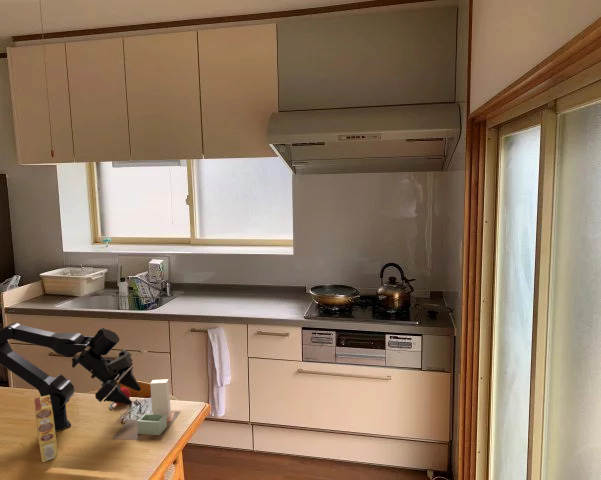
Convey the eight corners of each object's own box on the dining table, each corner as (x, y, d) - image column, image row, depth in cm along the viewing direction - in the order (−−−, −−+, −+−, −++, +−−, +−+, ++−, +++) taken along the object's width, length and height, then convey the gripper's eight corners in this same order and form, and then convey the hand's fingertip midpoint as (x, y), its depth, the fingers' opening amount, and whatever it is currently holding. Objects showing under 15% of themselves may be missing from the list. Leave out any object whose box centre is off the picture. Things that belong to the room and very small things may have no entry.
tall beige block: (153, 419, 142) (150, 383, 140) (155, 415, 144) (152, 379, 143) (169, 418, 142) (166, 382, 141) (170, 414, 145) (168, 379, 143)
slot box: (137, 433, 134) (136, 421, 134) (145, 425, 139) (144, 413, 138) (159, 435, 133) (158, 422, 133) (166, 426, 138) (166, 414, 137)
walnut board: (111, 442, 132) (111, 438, 132) (136, 413, 148) (136, 410, 148) (161, 443, 131) (160, 439, 131) (180, 414, 147) (180, 411, 147)
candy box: (58, 457, 125) (53, 405, 123) (41, 463, 123) (35, 410, 121) (55, 443, 132) (50, 393, 131) (39, 448, 130) (33, 398, 128)
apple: (104, 410, 151) (103, 392, 150) (117, 399, 159) (115, 381, 158) (127, 411, 150) (125, 393, 149) (138, 400, 158) (137, 382, 157)
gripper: (102, 358, 130) (144, 392, 132) (124, 336, 149) (160, 366, 151) (77, 385, 131) (119, 418, 133) (102, 360, 150) (138, 390, 151)
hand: (135, 396), depth 142 cm, fingers open, 9 cm apart
